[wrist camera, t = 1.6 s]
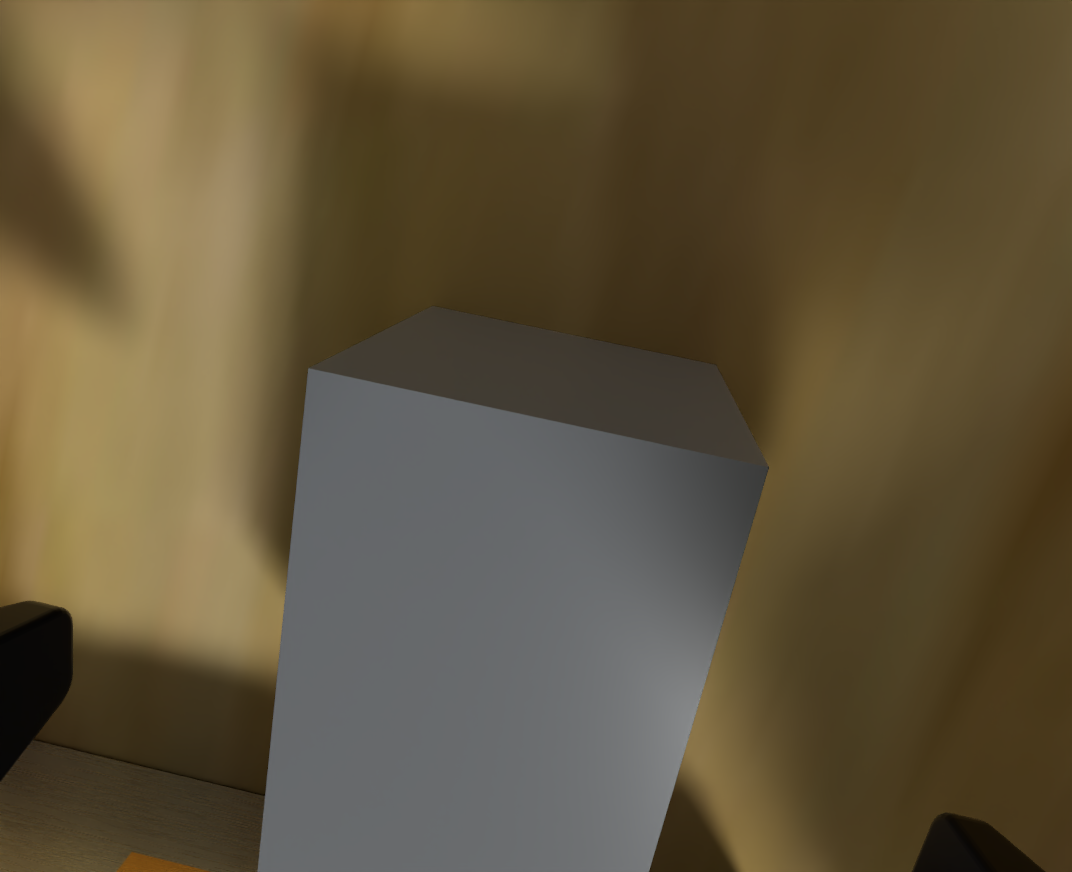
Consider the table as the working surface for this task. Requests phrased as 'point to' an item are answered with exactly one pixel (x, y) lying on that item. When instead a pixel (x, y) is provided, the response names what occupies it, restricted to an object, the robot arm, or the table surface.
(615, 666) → the grey upright box
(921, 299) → the table surface
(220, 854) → the rack
